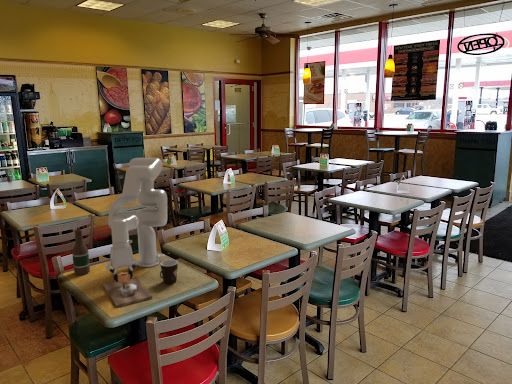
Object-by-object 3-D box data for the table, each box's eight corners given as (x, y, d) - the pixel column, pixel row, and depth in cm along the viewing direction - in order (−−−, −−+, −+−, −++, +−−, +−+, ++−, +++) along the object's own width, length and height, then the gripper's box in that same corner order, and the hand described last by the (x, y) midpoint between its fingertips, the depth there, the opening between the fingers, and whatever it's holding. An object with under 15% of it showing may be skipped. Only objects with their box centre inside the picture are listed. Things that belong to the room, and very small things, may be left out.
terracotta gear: (128, 276, 195) (127, 271, 194) (131, 281, 189) (131, 275, 189) (115, 279, 192) (115, 273, 191) (118, 284, 186) (118, 278, 186)
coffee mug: (172, 276, 205) (171, 258, 203) (182, 281, 199) (181, 262, 197) (152, 283, 197) (151, 264, 195) (161, 288, 191) (160, 269, 189)
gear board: (136, 278, 202) (135, 268, 201) (152, 298, 181) (151, 286, 180) (103, 286, 194) (102, 275, 193) (116, 307, 172) (115, 295, 171)
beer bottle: (74, 276, 206) (70, 232, 201) (74, 271, 212) (69, 228, 208) (90, 274, 209) (86, 230, 204) (89, 268, 216) (85, 226, 211)
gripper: (136, 239, 195) (139, 273, 198) (100, 245, 186) (103, 281, 189) (141, 242, 188) (143, 278, 192) (103, 249, 179) (106, 286, 183)
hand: (123, 279), depth 190 cm, fingers closed on terracotta gear, 6 cm apart
